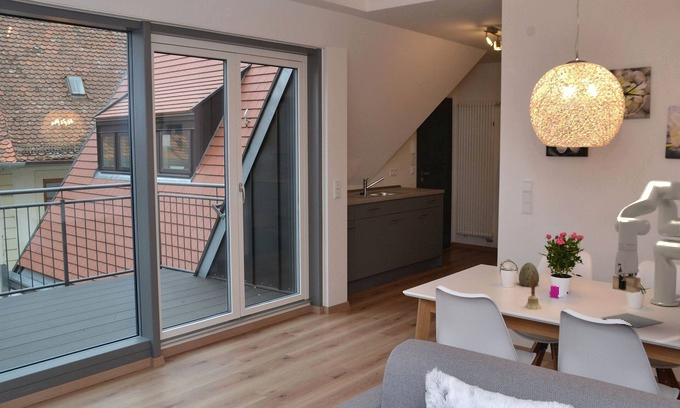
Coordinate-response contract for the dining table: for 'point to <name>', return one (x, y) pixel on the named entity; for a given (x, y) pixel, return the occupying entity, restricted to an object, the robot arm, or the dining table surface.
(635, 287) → the oak block
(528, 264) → the decorative egg
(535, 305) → the hand bell
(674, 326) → the dining table surface
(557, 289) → the toy block
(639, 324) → the mat
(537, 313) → the dining table surface
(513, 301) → the dining table surface
